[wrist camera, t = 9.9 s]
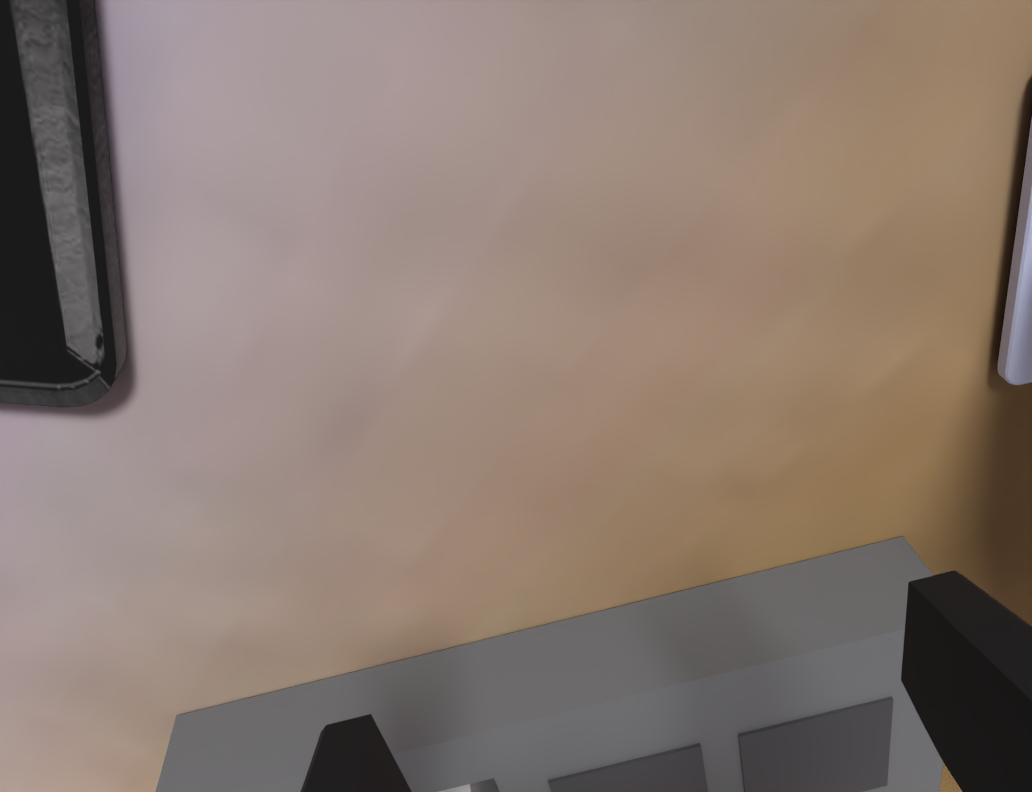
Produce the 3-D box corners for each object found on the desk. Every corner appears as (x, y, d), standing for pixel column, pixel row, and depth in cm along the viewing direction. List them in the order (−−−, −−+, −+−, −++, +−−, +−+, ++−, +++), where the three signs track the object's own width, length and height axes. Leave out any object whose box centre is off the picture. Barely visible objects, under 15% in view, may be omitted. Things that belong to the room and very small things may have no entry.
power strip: (903, 536, 23) (965, 617, 21) (889, 735, 29) (937, 819, 26) (176, 715, 24) (148, 817, 21) (298, 878, 29) (288, 975, 27)
